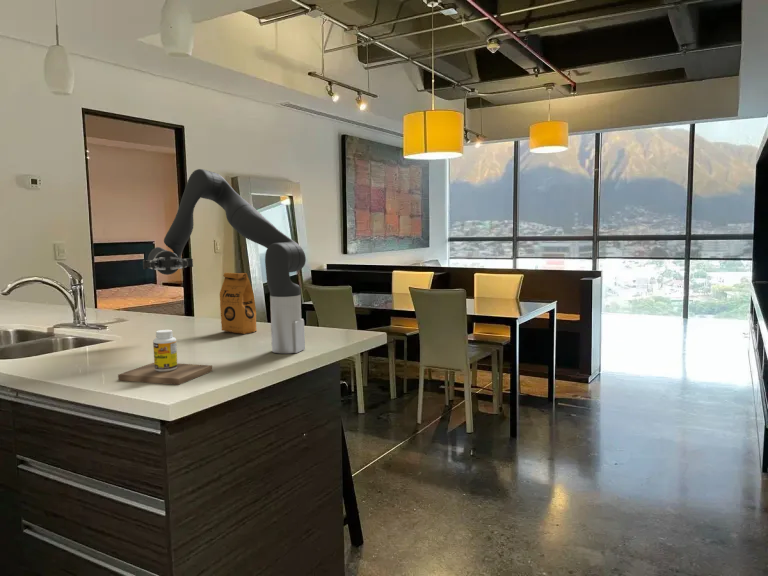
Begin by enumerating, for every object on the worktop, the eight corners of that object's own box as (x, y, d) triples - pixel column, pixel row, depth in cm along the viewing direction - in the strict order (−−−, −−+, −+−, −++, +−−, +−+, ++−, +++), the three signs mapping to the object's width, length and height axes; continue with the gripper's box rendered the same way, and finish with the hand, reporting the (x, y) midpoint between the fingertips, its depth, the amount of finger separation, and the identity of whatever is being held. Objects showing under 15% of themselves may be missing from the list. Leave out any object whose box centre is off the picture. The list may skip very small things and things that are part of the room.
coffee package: (241, 335, 206) (238, 274, 204) (217, 332, 213) (214, 273, 211) (261, 331, 215) (259, 272, 212) (238, 328, 222) (235, 271, 219)
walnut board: (212, 371, 154) (212, 365, 154) (179, 384, 141) (178, 378, 141) (155, 367, 160) (155, 362, 160) (118, 380, 146) (118, 374, 146)
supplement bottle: (150, 371, 149) (147, 332, 148) (164, 366, 154) (162, 328, 153) (168, 372, 147) (165, 333, 146) (182, 367, 152) (180, 329, 151)
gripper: (141, 251, 183) (142, 252, 169) (189, 249, 189) (193, 250, 174) (143, 275, 184) (144, 278, 169) (190, 272, 190) (195, 275, 175)
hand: (169, 264), depth 172 cm, fingers open, 8 cm apart
